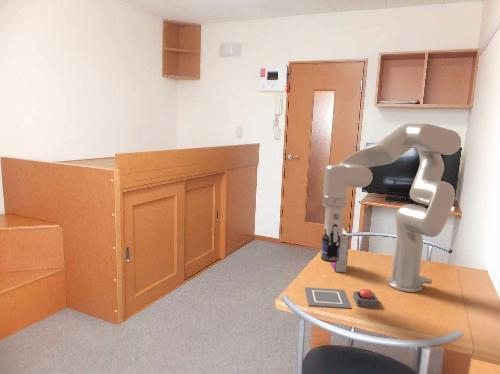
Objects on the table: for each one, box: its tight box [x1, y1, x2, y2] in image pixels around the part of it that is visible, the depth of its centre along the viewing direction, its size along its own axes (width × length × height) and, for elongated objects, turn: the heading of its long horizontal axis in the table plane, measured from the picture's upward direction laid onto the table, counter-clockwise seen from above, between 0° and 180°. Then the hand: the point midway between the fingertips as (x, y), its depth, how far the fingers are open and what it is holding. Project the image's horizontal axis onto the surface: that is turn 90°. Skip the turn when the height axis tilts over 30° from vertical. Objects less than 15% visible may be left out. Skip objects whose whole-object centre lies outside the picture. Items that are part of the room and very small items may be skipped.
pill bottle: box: [320, 228, 340, 263], centre depth 130 cm, size 6×6×11 cm
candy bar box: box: [329, 227, 350, 273], centre depth 161 cm, size 11×5×16 cm, turn 179°
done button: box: [360, 288, 373, 299], centre depth 130 cm, size 4×4×2 cm
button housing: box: [352, 290, 380, 308], centre depth 131 cm, size 7×7×2 cm
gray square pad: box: [304, 286, 352, 310], centre depth 133 cm, size 14×14×1 cm
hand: (330, 252), depth 130 cm, fingers closed on pill bottle, 6 cm apart
